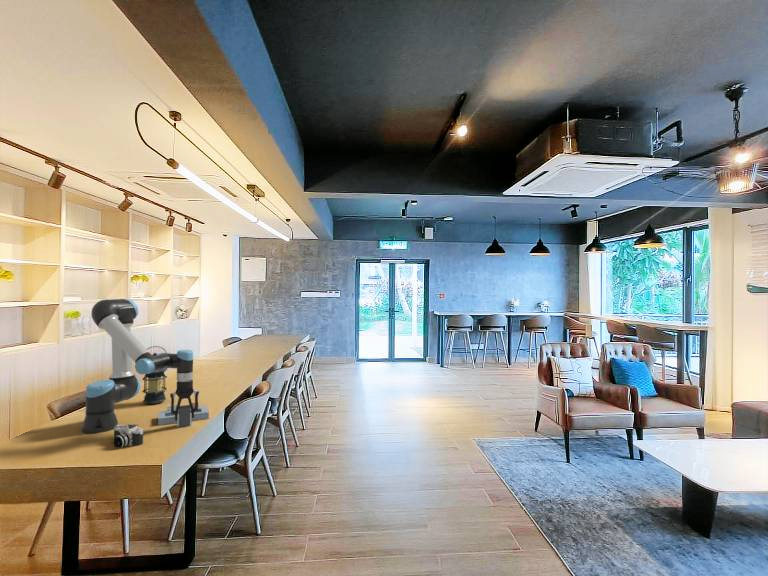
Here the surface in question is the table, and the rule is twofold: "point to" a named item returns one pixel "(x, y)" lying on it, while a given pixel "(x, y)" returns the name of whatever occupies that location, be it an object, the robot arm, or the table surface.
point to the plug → (184, 416)
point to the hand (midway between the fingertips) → (184, 425)
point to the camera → (127, 435)
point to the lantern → (154, 385)
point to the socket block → (169, 418)
